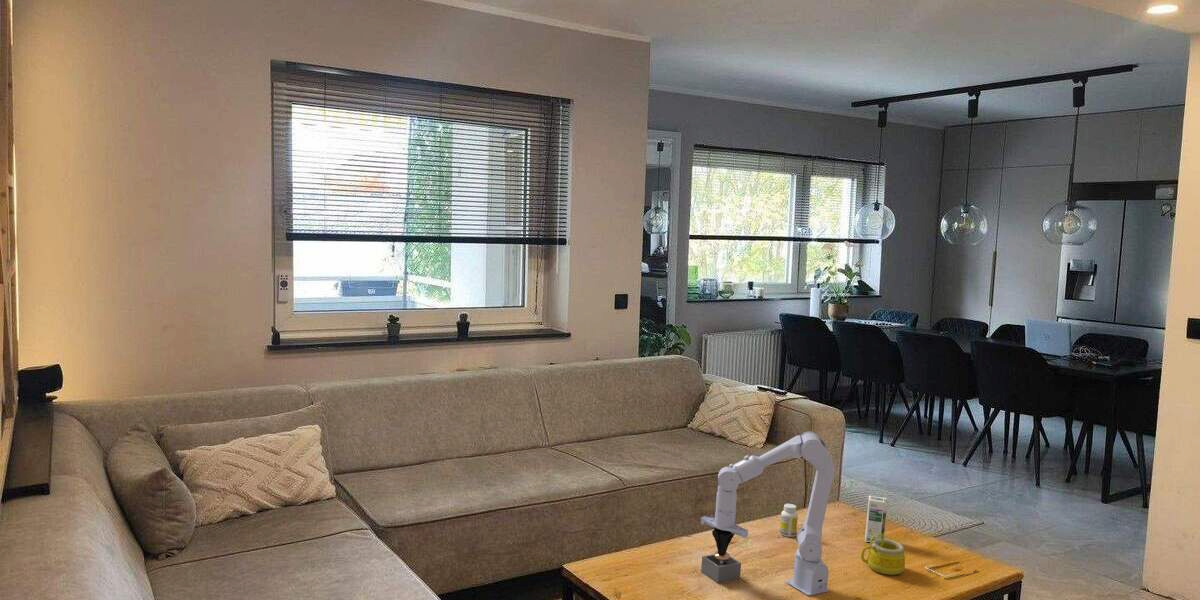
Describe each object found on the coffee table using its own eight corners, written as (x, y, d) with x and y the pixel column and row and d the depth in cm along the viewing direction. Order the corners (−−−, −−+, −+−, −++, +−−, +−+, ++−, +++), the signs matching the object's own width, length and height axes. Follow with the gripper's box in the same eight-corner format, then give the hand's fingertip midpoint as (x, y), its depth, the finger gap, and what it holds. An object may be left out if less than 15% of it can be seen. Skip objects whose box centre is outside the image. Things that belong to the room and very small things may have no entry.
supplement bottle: (795, 531, 283) (797, 503, 282) (797, 538, 277) (799, 509, 276) (778, 530, 283) (781, 502, 282) (780, 536, 278) (783, 507, 277)
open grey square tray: (739, 579, 244) (741, 562, 243) (717, 584, 240) (718, 567, 239) (722, 568, 251) (724, 552, 250) (700, 572, 247) (702, 556, 246)
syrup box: (864, 542, 277) (869, 499, 276) (864, 536, 283) (869, 494, 281) (883, 545, 276) (887, 502, 274) (882, 539, 281) (887, 497, 280)
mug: (902, 565, 261) (906, 528, 259) (905, 580, 250) (909, 541, 249) (859, 558, 264) (863, 521, 263) (860, 572, 254) (864, 534, 252)
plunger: (735, 573, 244) (736, 556, 244) (718, 577, 241) (720, 559, 241) (722, 565, 249) (723, 548, 249) (706, 568, 246) (707, 551, 246)
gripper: (754, 512, 242) (750, 558, 243) (711, 499, 251) (707, 543, 252) (742, 518, 236) (738, 565, 238) (698, 504, 245) (695, 549, 247)
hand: (721, 554), depth 245 cm, fingers closed, pressing on plunger
